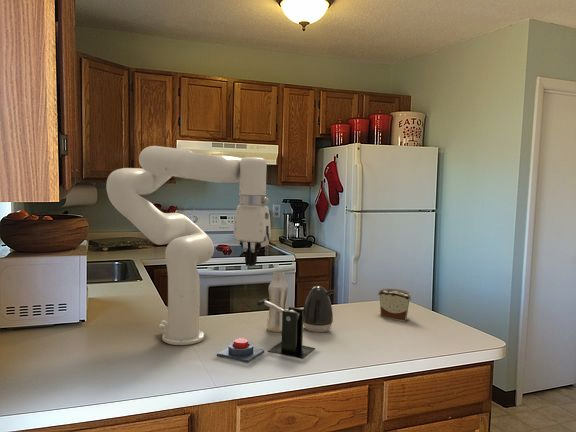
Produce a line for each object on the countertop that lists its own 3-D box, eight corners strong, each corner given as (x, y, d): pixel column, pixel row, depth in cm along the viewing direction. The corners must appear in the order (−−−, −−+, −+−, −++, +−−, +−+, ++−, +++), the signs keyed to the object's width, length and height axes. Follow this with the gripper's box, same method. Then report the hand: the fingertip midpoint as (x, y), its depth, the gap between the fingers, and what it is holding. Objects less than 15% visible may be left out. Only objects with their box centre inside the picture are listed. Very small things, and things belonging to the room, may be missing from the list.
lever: (256, 306, 139) (258, 299, 138) (265, 302, 144) (267, 295, 143) (291, 324, 134) (294, 316, 134) (299, 319, 139) (302, 312, 139)
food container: (414, 318, 176) (416, 291, 175) (409, 322, 171) (410, 295, 170) (383, 312, 183) (384, 286, 182) (376, 316, 177) (378, 289, 177)
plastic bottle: (276, 327, 160) (278, 269, 159) (291, 333, 155) (293, 272, 154) (262, 331, 156) (264, 271, 154) (276, 337, 151) (278, 274, 149)
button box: (216, 359, 132) (216, 346, 131) (234, 349, 140) (234, 337, 139) (248, 366, 127) (248, 353, 127) (264, 355, 135) (264, 343, 135)
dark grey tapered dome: (331, 337, 152) (333, 290, 151) (299, 334, 154) (300, 288, 153) (334, 328, 162) (336, 283, 161) (304, 325, 164) (305, 281, 163)
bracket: (267, 354, 136) (268, 310, 135) (281, 345, 144) (282, 303, 143) (302, 362, 131) (304, 316, 130) (315, 352, 140) (316, 309, 138)
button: (231, 347, 132) (231, 341, 132) (238, 343, 136) (238, 337, 136) (243, 350, 131) (243, 344, 131) (250, 345, 134) (251, 339, 134)
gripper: (281, 202, 136) (279, 266, 137) (236, 199, 142) (235, 260, 144) (269, 203, 129) (267, 270, 131) (222, 200, 135) (221, 264, 137)
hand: (250, 265), depth 137 cm, fingers closed
